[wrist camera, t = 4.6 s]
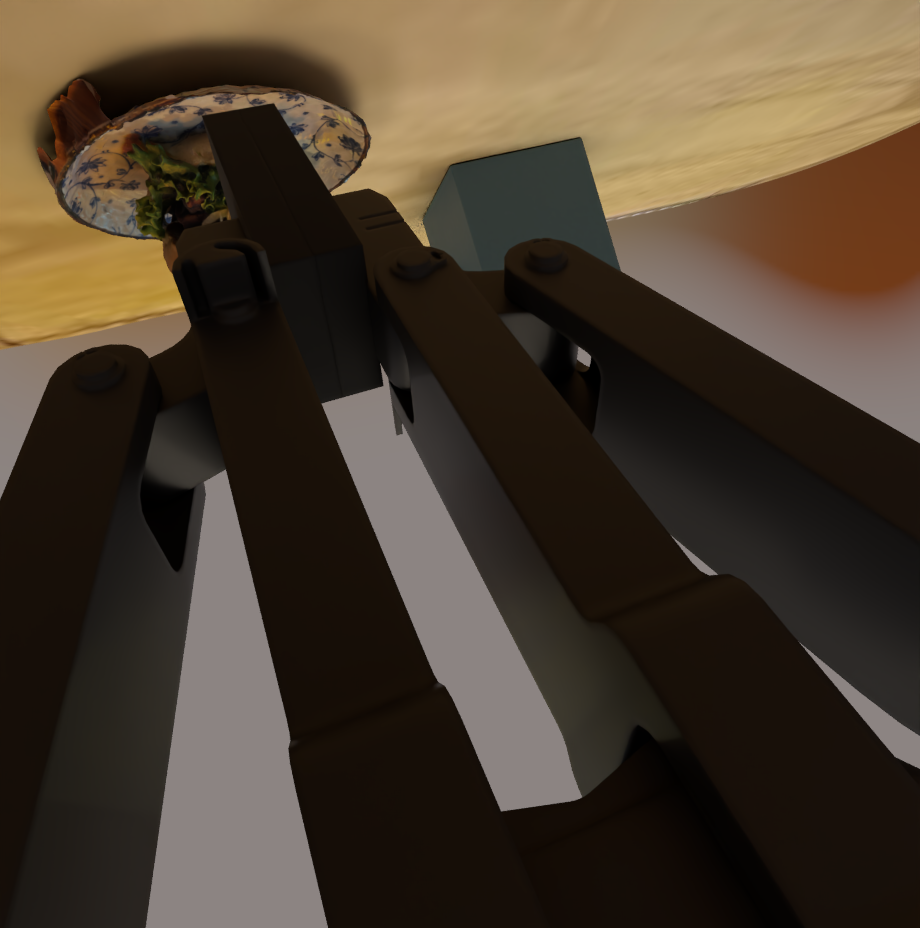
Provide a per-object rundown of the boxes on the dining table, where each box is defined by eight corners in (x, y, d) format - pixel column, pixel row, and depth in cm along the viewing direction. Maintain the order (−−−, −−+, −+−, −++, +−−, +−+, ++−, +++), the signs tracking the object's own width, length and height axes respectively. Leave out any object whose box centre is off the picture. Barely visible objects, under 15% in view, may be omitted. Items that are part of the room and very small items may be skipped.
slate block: (421, 219, 45) (463, 353, 46) (450, 164, 38) (499, 326, 38) (533, 194, 47) (571, 322, 48) (581, 136, 40) (627, 291, 40)
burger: (396, 126, 31) (446, 289, 32) (178, 223, 34) (225, 371, 35) (259, -21, 20) (340, 237, 20) (-53, 145, 23) (23, 367, 23)
